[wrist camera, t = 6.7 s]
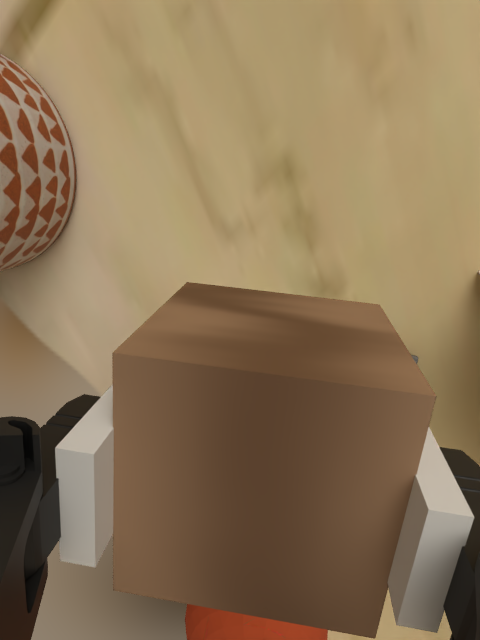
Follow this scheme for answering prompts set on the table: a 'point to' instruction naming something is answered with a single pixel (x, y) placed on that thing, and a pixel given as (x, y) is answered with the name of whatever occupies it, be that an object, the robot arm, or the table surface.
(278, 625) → the tomato
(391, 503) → the walnut block
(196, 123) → the table surface
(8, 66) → the planter
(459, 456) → the robot arm
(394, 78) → the table surface
